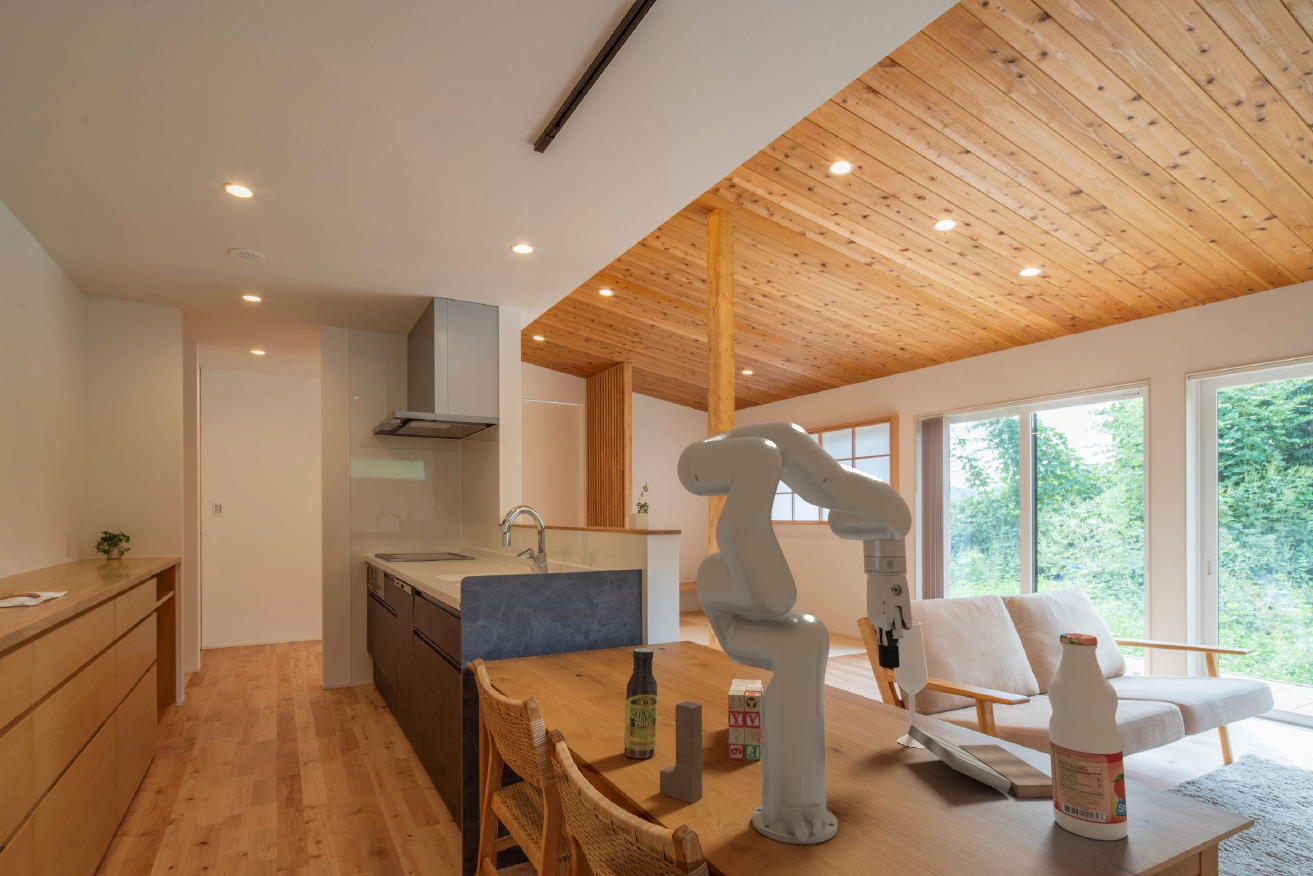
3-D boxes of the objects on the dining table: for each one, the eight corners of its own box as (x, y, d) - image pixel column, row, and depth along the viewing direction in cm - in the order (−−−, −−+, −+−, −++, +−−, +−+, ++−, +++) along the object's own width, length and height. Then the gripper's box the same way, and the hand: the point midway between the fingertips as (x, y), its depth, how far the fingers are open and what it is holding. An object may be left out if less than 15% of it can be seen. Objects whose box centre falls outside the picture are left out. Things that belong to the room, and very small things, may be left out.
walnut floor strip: (1063, 797, 114) (1062, 784, 115) (1018, 798, 114) (1018, 785, 114) (997, 755, 134) (996, 744, 134) (959, 755, 134) (958, 745, 134)
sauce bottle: (627, 762, 130) (628, 653, 133) (620, 751, 136) (621, 647, 139) (661, 758, 132) (661, 651, 134) (652, 748, 138) (652, 646, 140)
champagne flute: (900, 735, 146) (895, 619, 149) (933, 741, 143) (928, 622, 145) (893, 744, 140) (888, 623, 143) (928, 750, 137) (923, 626, 139)
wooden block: (702, 797, 114) (702, 703, 116) (691, 804, 111) (691, 707, 113) (670, 788, 118) (670, 697, 120) (659, 794, 115) (659, 701, 117)
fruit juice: (1044, 812, 109) (1033, 629, 112) (1109, 816, 107) (1096, 631, 110) (1069, 839, 99) (1057, 640, 102) (1141, 844, 98) (1127, 641, 101)
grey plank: (1007, 794, 115) (1011, 782, 115) (952, 768, 115) (957, 757, 115) (954, 756, 133) (958, 746, 133) (907, 734, 133) (911, 724, 133)
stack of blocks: (735, 726, 153) (735, 669, 154) (764, 728, 152) (763, 670, 153) (728, 760, 132) (727, 693, 133) (761, 762, 131) (760, 694, 132)
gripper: (922, 569, 122) (927, 676, 120) (888, 562, 136) (892, 657, 135) (881, 569, 121) (885, 677, 119) (851, 562, 136) (854, 658, 134)
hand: (889, 666), depth 127 cm, fingers closed
